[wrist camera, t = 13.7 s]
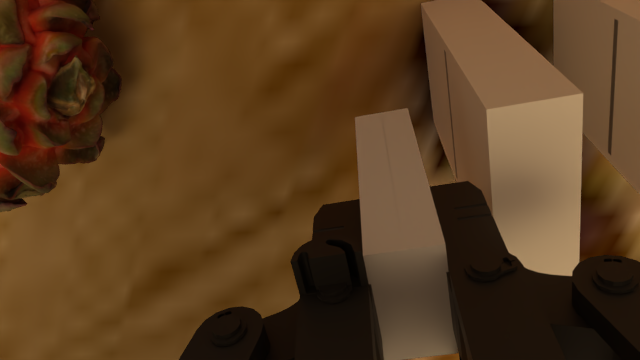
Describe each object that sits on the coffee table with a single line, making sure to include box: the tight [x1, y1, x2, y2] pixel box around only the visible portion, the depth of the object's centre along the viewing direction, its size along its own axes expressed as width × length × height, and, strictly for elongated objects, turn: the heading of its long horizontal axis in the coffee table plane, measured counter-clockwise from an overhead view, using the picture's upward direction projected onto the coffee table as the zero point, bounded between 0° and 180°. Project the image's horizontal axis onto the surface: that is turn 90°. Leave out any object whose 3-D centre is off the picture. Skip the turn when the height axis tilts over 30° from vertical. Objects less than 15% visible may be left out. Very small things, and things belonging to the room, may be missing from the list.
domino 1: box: [421, 0, 583, 276], centre depth 18 cm, size 2×5×11 cm, turn 11°
